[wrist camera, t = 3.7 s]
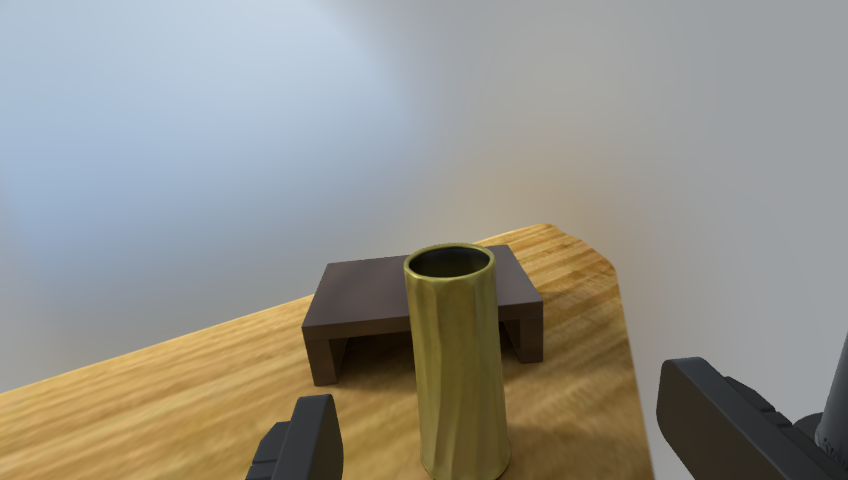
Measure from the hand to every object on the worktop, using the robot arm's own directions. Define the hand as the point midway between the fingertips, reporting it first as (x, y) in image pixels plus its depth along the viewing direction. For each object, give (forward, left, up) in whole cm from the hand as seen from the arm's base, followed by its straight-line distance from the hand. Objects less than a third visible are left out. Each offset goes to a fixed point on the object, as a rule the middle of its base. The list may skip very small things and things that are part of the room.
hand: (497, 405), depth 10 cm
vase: (0, -14, -16) cm, 22 cm away
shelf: (+2, -29, -16) cm, 33 cm away
